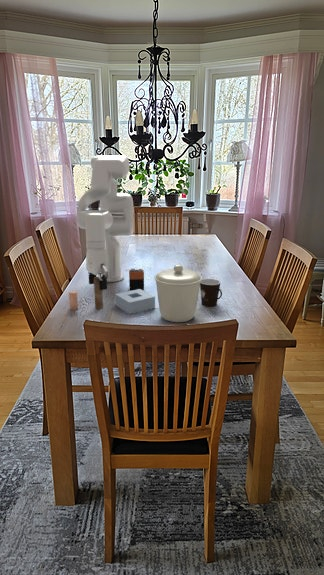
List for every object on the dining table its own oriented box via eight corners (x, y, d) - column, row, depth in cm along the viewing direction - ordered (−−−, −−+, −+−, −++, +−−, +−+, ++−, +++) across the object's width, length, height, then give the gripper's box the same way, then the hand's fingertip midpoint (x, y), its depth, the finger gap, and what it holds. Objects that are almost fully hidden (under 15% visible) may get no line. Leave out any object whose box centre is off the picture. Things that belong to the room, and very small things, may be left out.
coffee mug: (197, 300, 172) (198, 278, 169) (217, 300, 173) (218, 278, 170) (201, 310, 161) (202, 287, 158) (222, 310, 162) (224, 287, 159)
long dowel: (94, 307, 164) (92, 277, 160) (101, 305, 166) (99, 276, 162) (97, 309, 162) (95, 279, 158) (104, 308, 163) (103, 278, 159)
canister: (194, 307, 164) (196, 258, 158) (206, 325, 147) (208, 270, 141) (151, 310, 162) (151, 259, 155) (157, 328, 145) (157, 272, 138)
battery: (129, 288, 188) (129, 267, 185) (143, 287, 189) (143, 267, 186) (129, 291, 184) (129, 270, 181) (144, 290, 185) (143, 270, 182)
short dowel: (68, 308, 163) (67, 292, 161) (76, 306, 165) (75, 290, 163) (71, 310, 161) (70, 294, 159) (79, 308, 163) (78, 292, 160)
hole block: (115, 305, 167) (115, 293, 165) (140, 299, 173) (139, 288, 172) (129, 314, 157) (129, 302, 156) (155, 308, 164) (154, 296, 162)
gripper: (78, 242, 160) (80, 282, 165) (96, 249, 146) (98, 293, 151) (95, 240, 164) (97, 280, 169) (114, 247, 150) (116, 290, 156)
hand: (98, 286), depth 160 cm, fingers open, 9 cm apart
